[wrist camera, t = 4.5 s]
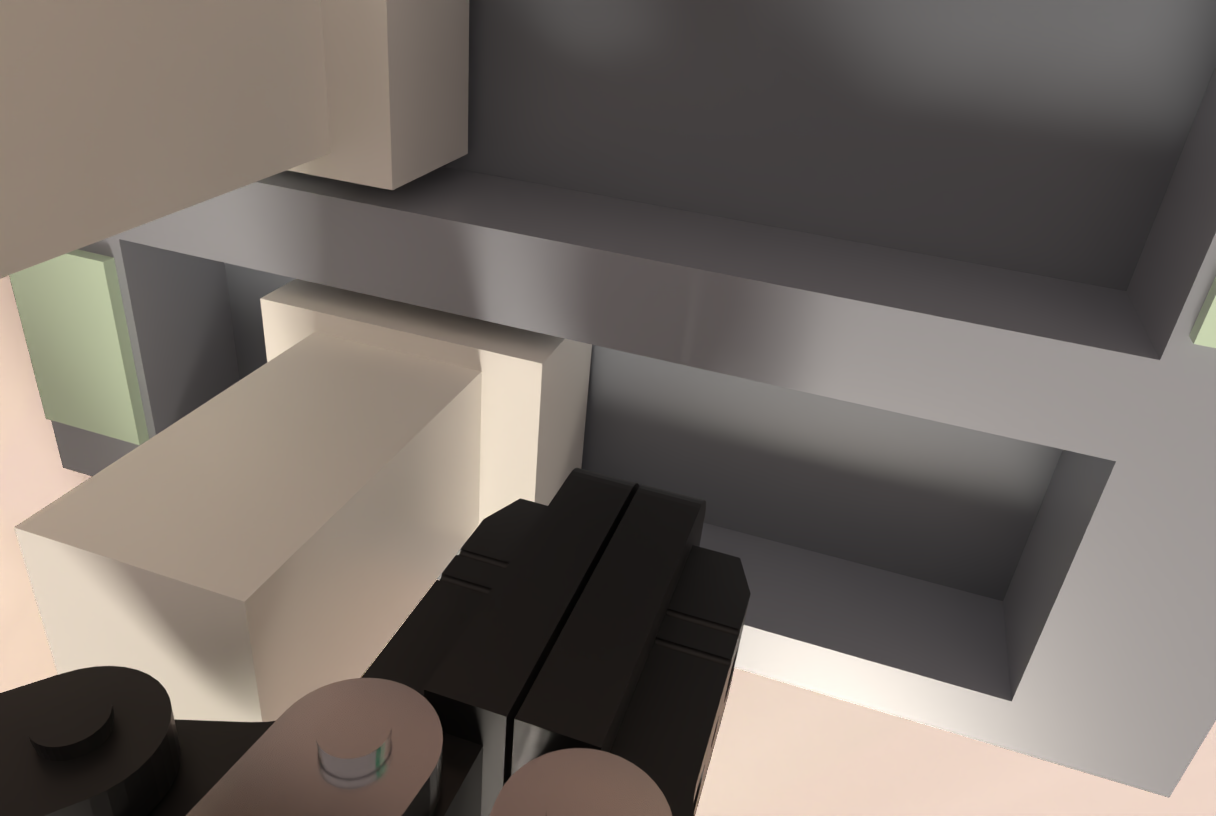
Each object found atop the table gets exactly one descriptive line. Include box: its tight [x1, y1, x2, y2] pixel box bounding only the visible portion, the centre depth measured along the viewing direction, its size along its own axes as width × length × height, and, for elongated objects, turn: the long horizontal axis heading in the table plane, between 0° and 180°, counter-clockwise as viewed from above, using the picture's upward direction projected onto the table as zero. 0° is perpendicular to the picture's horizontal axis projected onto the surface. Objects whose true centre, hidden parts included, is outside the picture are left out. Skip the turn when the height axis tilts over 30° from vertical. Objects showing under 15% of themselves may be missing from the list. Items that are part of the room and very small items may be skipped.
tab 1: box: [0, 0, 469, 278], centre depth 9 cm, size 4×3×7 cm
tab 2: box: [14, 279, 592, 722], centre depth 11 cm, size 4×3×7 cm
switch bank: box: [9, 0, 1216, 797], centre depth 12 cm, size 17×10×3 cm, turn 85°
